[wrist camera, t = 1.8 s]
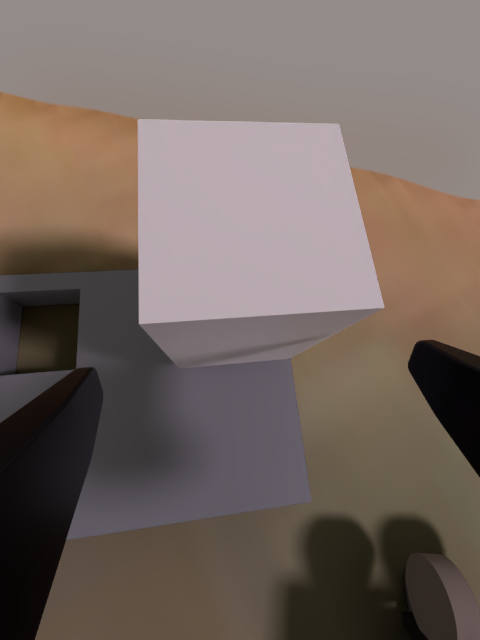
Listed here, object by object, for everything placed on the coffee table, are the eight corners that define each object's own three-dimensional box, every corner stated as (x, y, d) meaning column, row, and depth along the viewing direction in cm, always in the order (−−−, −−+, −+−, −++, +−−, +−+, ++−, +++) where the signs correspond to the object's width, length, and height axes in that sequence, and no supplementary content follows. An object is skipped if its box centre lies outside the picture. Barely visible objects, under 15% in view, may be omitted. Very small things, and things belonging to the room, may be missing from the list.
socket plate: (297, 488, 17) (311, 501, 15) (-27, 536, 15) (-71, 561, 13) (268, 279, 21) (276, 263, 19) (5, 292, 19) (-25, 276, 16)
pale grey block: (278, 364, 18) (384, 307, 7) (182, 372, 17) (139, 324, 6) (266, 277, 20) (338, 123, 9) (178, 281, 19) (137, 119, 8)
